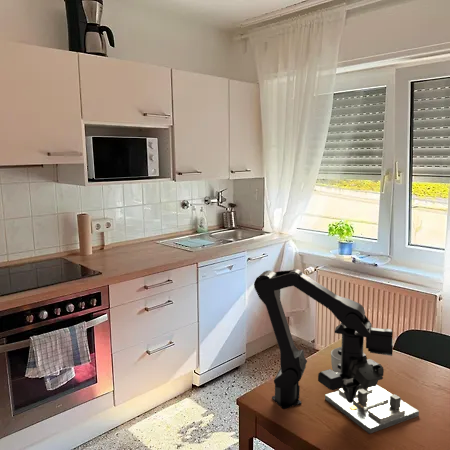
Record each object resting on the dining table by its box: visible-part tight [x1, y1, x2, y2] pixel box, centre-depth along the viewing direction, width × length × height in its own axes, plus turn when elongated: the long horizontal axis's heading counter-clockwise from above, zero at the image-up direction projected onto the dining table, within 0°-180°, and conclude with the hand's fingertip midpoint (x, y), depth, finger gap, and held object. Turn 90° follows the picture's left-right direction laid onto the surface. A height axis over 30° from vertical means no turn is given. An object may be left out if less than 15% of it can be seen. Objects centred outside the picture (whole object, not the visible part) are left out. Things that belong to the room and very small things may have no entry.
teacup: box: [330, 346, 365, 373], centre depth 139 cm, size 14×11×8 cm
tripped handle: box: [357, 389, 368, 404], centre depth 119 cm, size 2×2×3 cm
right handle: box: [390, 393, 402, 409], centre depth 116 cm, size 2×2×3 cm
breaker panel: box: [324, 384, 420, 434], centre depth 120 cm, size 18×18×3 cm
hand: (350, 402), depth 117 cm, fingers closed
